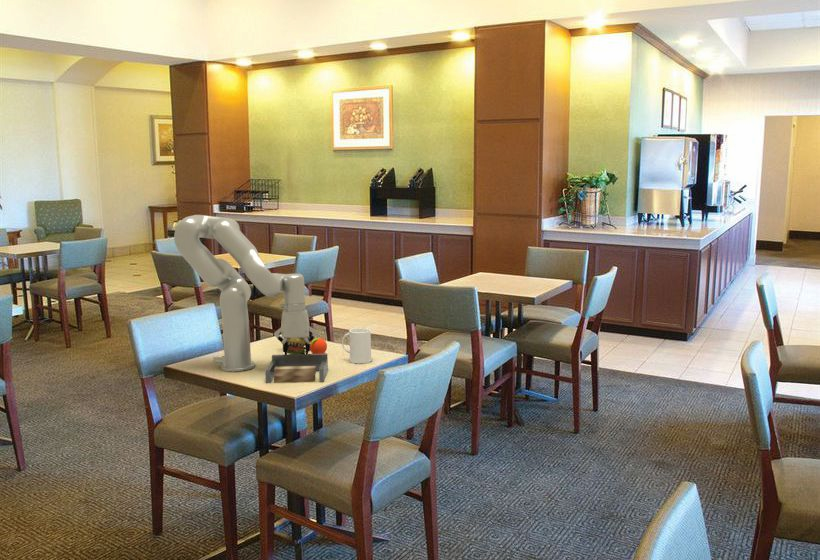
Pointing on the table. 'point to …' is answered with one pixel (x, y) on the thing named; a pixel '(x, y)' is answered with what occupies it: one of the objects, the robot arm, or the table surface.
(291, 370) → the light brown long block
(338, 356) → the table surface
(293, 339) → the burger with flag pick
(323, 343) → the clementine
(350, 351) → the mug
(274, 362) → the frame
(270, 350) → the table surface
